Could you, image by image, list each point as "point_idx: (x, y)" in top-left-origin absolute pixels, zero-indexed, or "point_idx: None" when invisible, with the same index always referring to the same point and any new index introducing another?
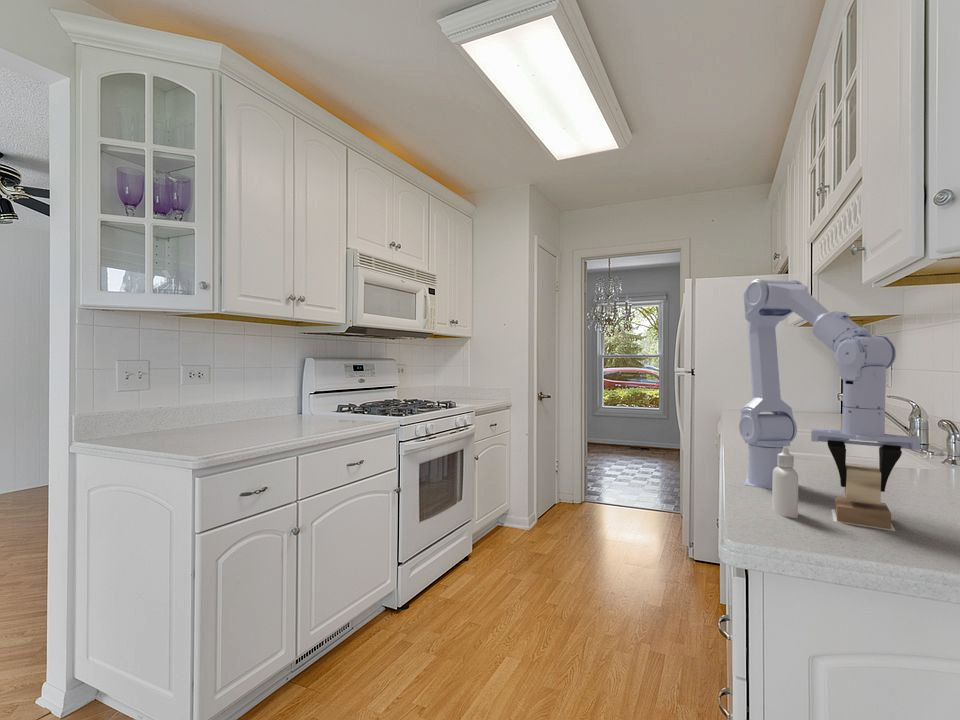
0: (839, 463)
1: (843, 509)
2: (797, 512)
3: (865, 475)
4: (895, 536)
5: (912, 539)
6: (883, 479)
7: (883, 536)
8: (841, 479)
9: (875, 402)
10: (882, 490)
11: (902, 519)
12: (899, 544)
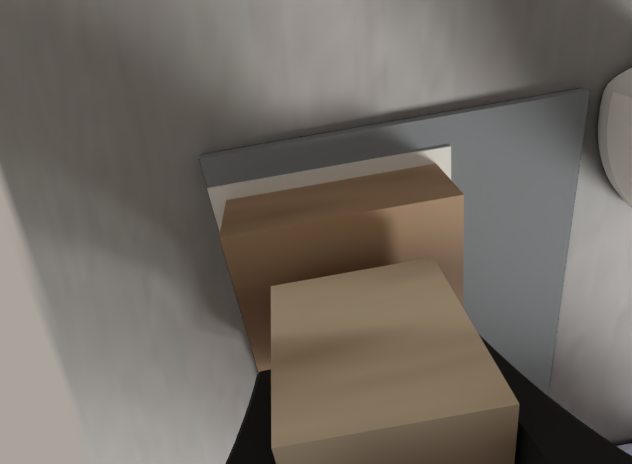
0: (593, 452)
1: (430, 193)
2: (626, 95)
3: (374, 397)
4: (202, 146)
5: (138, 152)
6: (260, 430)
7: (243, 104)
8: (503, 358)
9: None
10: (267, 372)
11: (221, 402)
12: (163, 9)
